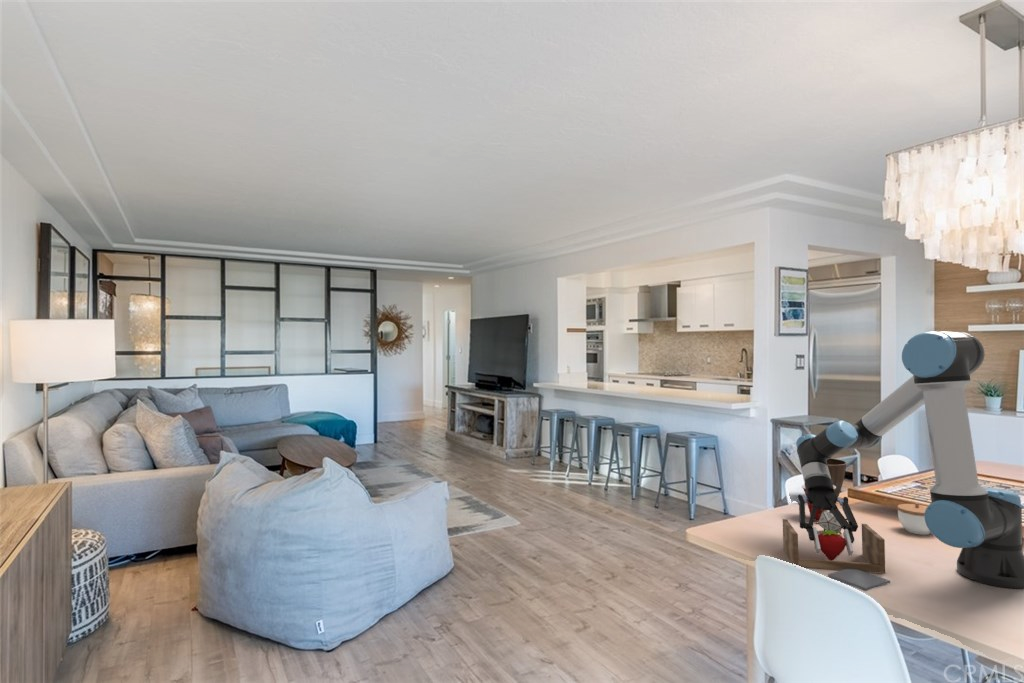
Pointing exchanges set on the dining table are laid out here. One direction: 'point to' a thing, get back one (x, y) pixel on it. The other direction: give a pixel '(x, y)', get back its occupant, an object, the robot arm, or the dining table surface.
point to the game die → (829, 522)
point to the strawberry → (831, 544)
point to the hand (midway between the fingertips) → (834, 552)
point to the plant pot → (837, 473)
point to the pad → (859, 578)
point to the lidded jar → (913, 518)
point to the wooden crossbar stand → (870, 550)
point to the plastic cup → (812, 505)
